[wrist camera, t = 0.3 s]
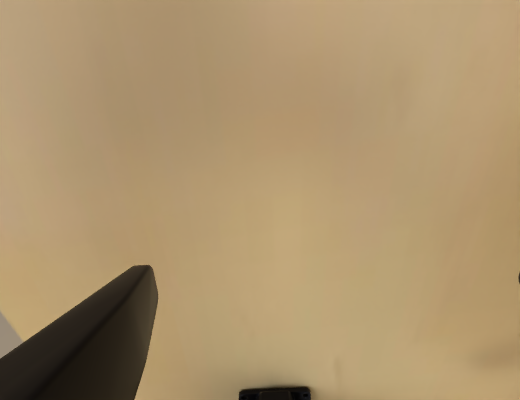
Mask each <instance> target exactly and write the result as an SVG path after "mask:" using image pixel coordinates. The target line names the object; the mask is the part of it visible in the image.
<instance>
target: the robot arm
mask: <svg viewBox="0 0 520 400" xmlns="http://www.w3.org/2000/svg"><path fill="white" fill-rule="evenodd" d="M519 283H520V273H519ZM157 304H158V291H157V286H156V281H155V276H154V272H153V269H152V267H151V266H150V265H138V266H133V267H131V268H130V269H128V270H127V271H125V272H124V273H122V274H121V275H120V276H118V277H117V278H115V279H114V280H112V281H111V282H109V283H108V284H107V285H105V286H104V287H102V288H101V289H99V290H98V291H97V292H95V293H94V294H92V295H91V296H89V297H88V298H87V299H85V300H84V301H82V302H81V303H79V304H78V305H77V306H75V307H74V308H72V309H71V310H69V311H68V312H67V313H65V314H64V315H62V316H61V317H59V318H58V319H57V320H55V321H54V322H52V323H51V324H49V325H48V326H47V327H45V328H44V329H42V330H41V331H39V332H38V333H37V334H35V335H34V336H32V337H31V338H29V339H28V340H26V341H25V342H24V343H22V344H21V345H20V346H18V347H17V348H15V349H14V350H12V351H11V352H9V353H8V354H7V355H5V356H4V357H2V358H1V359H0V400H134V399H135V396H136V393H137V389H138V386H139V383H140V380H141V377H142V374H143V370H144V367H145V363H146V359H147V355H148V350H149V345H150V340H151V335H152V329H153V324H154V319H155V314H156V309H157ZM239 400H311V394H310V390H309V389H308V388H285V389H262V390H243V391H240V392H239Z"/></svg>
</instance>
